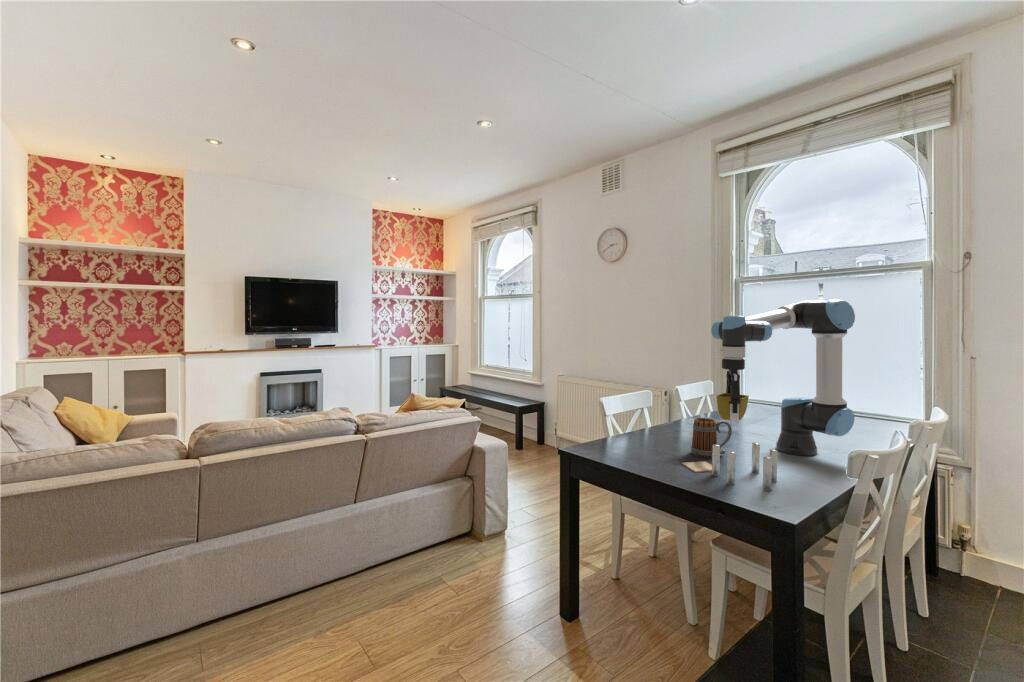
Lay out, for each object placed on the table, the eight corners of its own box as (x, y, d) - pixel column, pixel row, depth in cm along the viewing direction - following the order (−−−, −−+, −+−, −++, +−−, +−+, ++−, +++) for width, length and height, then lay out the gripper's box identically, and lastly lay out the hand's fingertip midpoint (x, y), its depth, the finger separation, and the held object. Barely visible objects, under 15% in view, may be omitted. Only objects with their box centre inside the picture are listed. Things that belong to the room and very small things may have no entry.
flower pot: (748, 419, 166) (749, 395, 166) (741, 423, 160) (742, 398, 159) (723, 416, 172) (723, 392, 172) (715, 420, 166) (716, 395, 165)
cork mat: (705, 462, 181) (705, 461, 181) (720, 471, 171) (720, 469, 171) (681, 464, 180) (681, 462, 180) (695, 472, 170) (695, 470, 170)
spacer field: (756, 471, 171) (756, 442, 170) (794, 489, 152) (795, 457, 152) (710, 473, 168) (711, 444, 168) (744, 493, 149) (744, 460, 149)
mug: (692, 457, 188) (693, 421, 187) (689, 450, 198) (689, 416, 197) (733, 460, 184) (734, 423, 183) (728, 452, 194) (728, 418, 194)
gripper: (718, 355, 177) (717, 411, 178) (725, 360, 155) (724, 424, 156) (740, 356, 175) (739, 413, 176) (750, 361, 153) (748, 426, 154)
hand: (732, 418), depth 166 cm, fingers closed on flower pot, 10 cm apart
